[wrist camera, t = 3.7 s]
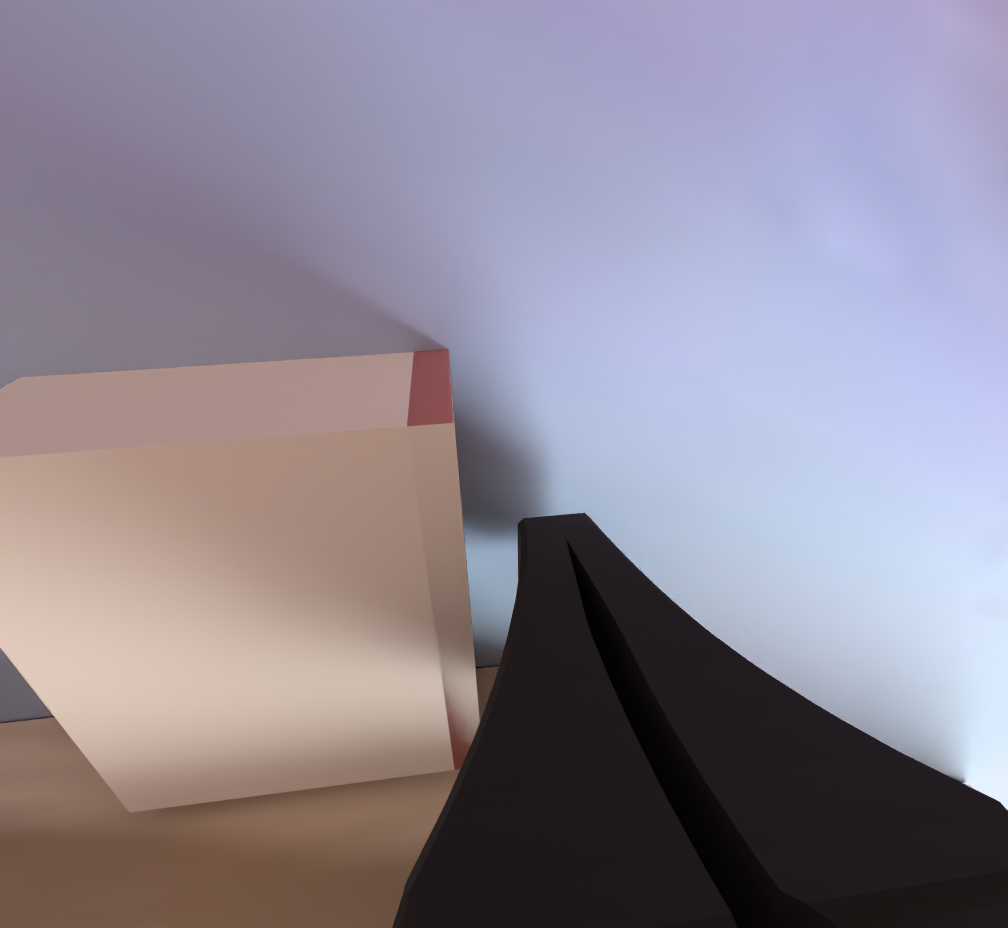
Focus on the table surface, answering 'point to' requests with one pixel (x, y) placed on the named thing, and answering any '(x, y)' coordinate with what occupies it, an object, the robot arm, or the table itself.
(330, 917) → the shelf
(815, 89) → the table surface
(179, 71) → the table surface
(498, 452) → the table surface
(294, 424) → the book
